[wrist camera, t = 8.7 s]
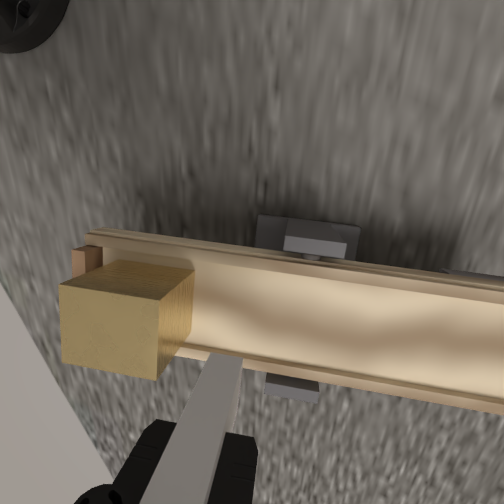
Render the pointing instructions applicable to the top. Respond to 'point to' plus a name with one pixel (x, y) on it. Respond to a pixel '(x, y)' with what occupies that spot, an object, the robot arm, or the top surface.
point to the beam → (332, 317)
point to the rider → (126, 317)
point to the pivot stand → (300, 241)
